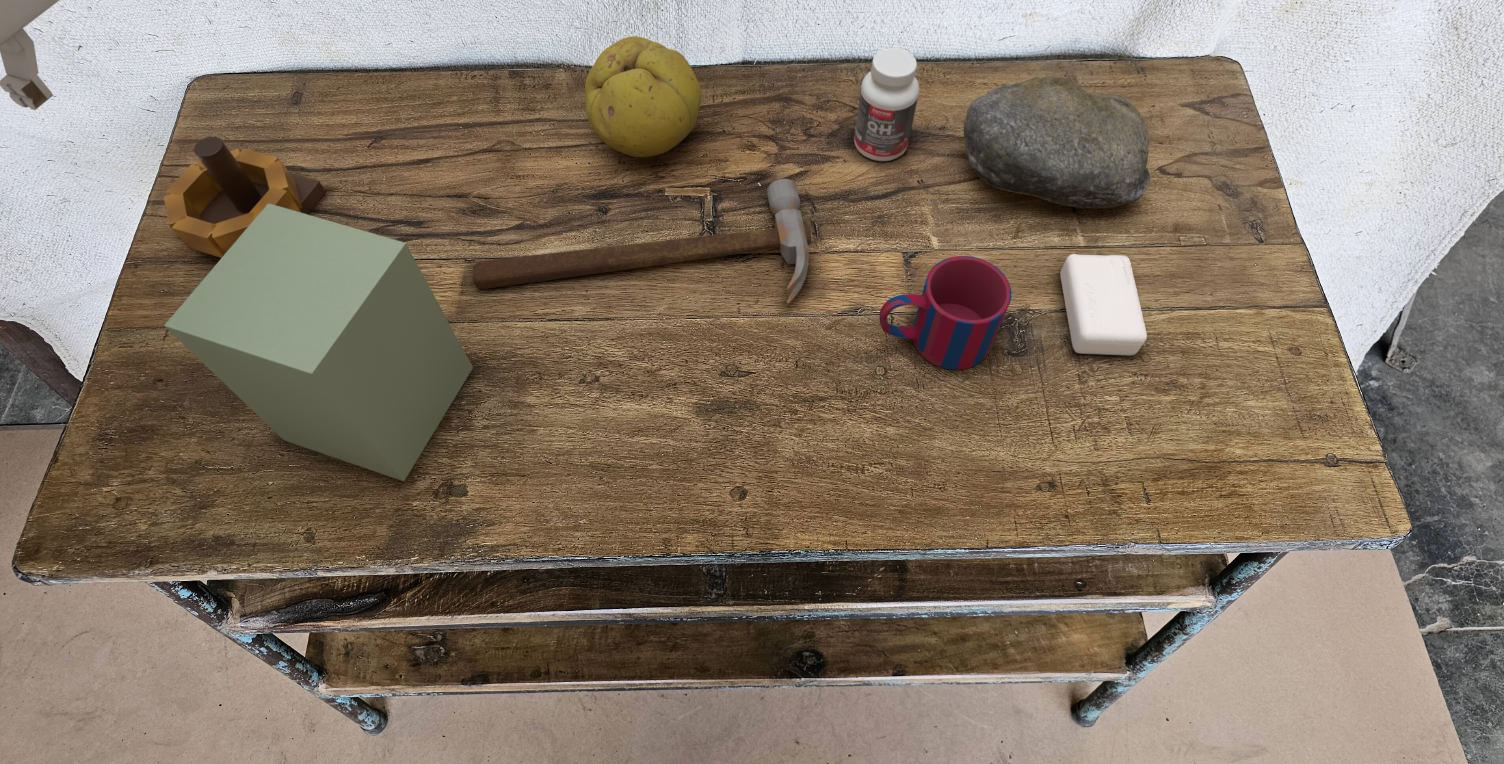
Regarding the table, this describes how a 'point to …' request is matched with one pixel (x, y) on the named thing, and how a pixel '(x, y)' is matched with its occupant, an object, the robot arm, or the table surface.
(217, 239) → the ring
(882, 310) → the cup
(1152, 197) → the table surface
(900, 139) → the pill bottle
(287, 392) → the pedestal
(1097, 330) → the soap
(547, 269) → the hammer
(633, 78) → the fruit
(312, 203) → the stand
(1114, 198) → the stone
